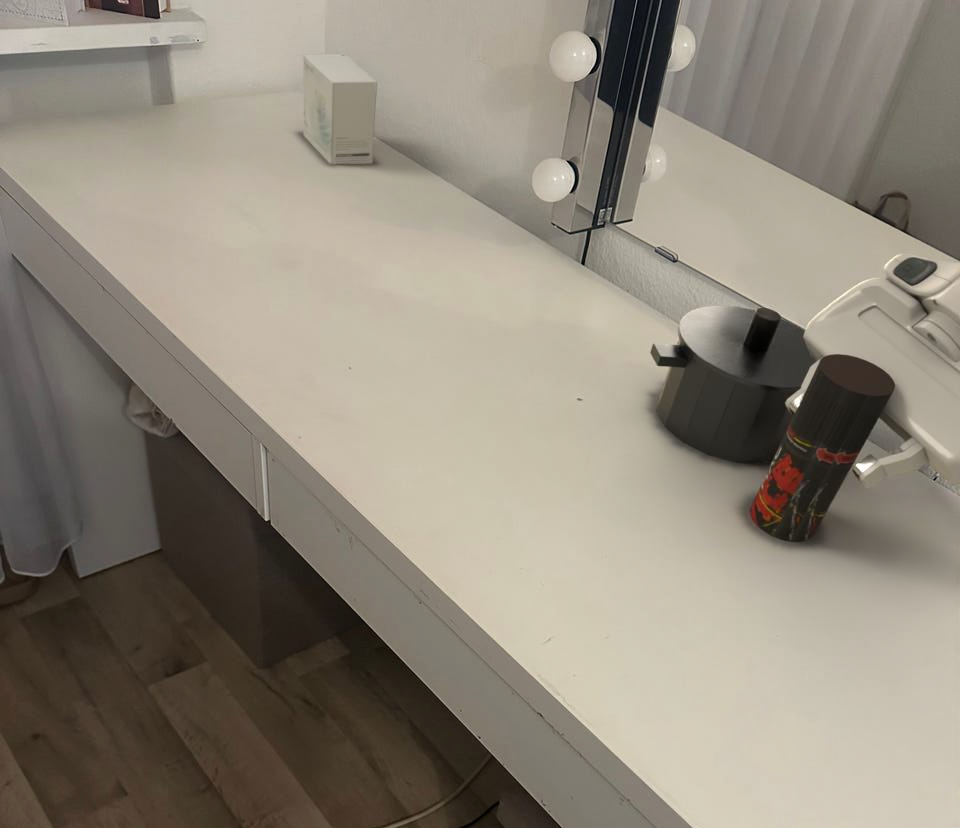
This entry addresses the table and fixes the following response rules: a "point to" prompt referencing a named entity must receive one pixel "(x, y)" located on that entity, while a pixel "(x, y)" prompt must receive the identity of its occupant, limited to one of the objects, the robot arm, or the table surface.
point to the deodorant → (820, 446)
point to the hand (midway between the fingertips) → (823, 444)
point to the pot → (719, 410)
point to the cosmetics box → (339, 108)
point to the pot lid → (747, 346)
